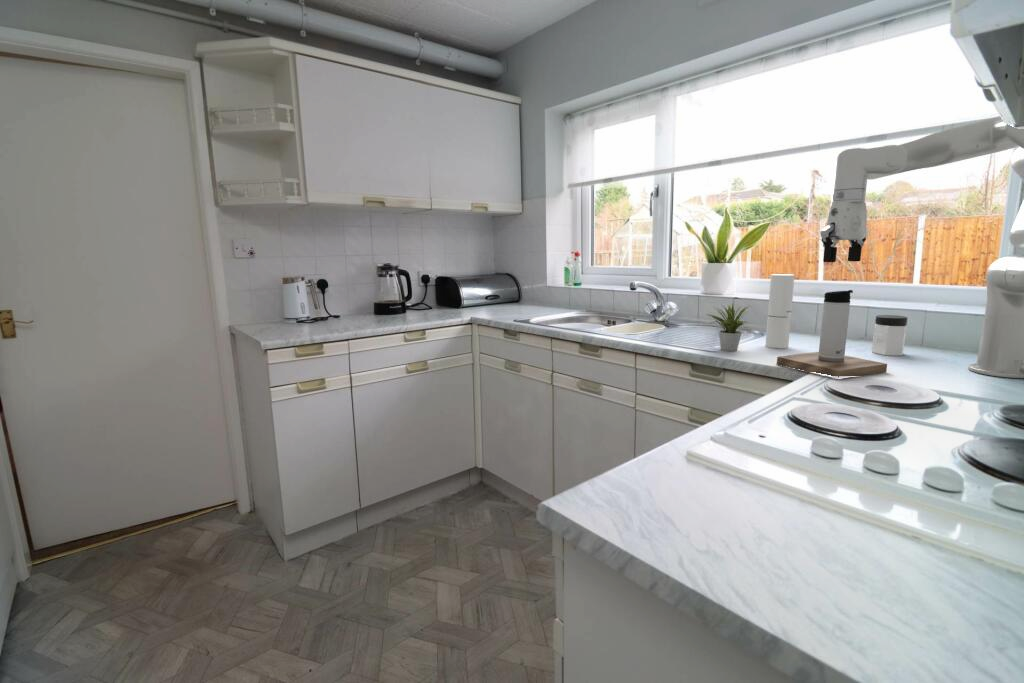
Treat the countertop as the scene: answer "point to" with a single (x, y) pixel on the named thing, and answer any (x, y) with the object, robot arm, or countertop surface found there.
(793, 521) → the countertop surface
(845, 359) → the walnut board
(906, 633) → the countertop surface
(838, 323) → the travel mug
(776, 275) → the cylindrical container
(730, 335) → the house plant
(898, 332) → the jar
